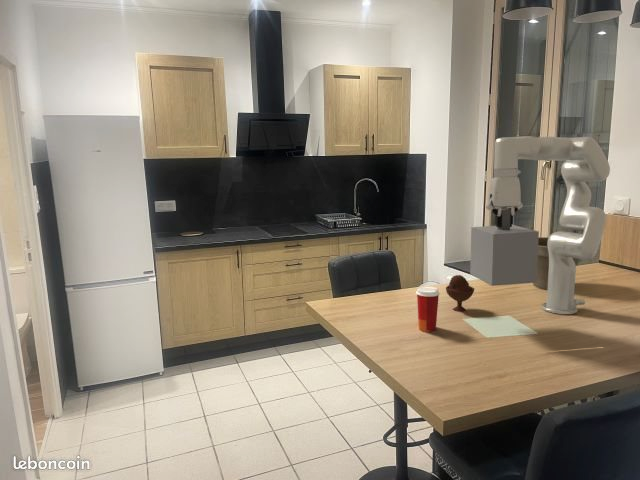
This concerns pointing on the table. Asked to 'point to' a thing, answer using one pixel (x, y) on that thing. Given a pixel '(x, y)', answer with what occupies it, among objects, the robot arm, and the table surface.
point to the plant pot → (544, 264)
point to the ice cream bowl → (459, 291)
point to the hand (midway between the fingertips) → (503, 226)
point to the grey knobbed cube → (504, 253)
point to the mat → (499, 326)
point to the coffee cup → (427, 308)
